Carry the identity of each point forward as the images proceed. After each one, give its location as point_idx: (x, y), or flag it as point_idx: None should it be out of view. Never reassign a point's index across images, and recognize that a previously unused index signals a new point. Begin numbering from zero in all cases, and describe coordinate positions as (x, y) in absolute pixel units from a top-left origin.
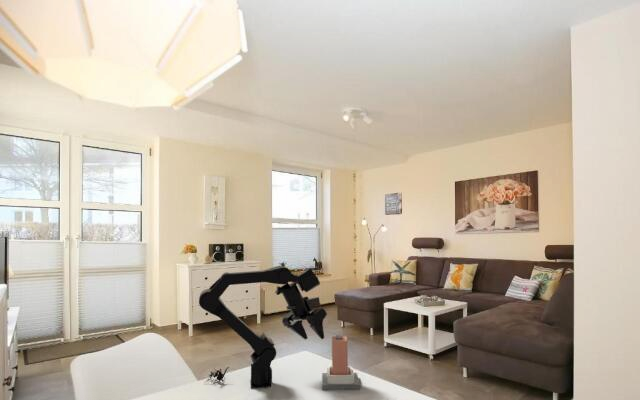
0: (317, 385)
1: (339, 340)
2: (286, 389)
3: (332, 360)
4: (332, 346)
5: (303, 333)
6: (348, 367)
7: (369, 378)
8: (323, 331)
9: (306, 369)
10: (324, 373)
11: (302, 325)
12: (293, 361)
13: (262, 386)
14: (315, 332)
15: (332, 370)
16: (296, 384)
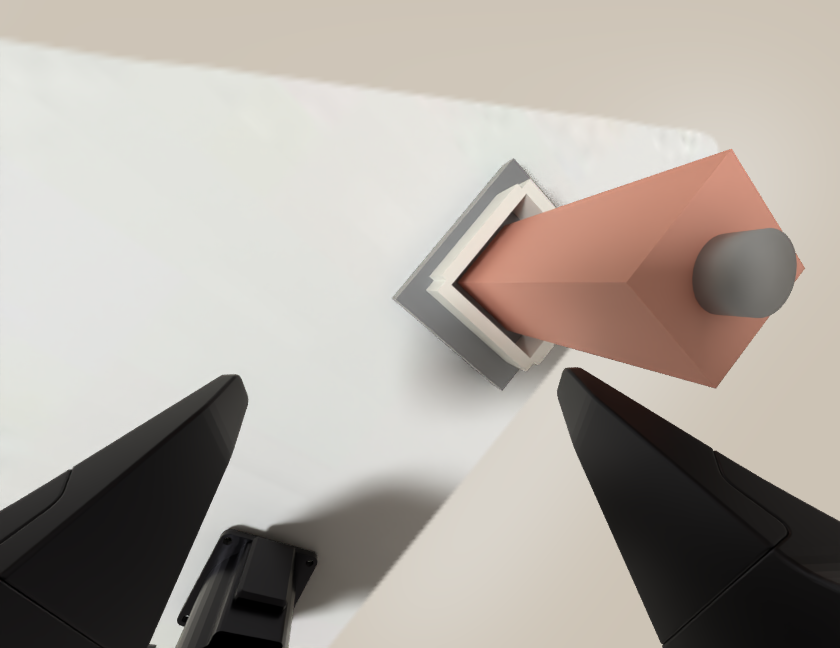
0: (445, 373)
1: (753, 321)
2: (388, 503)
3: (575, 348)
4: (662, 371)
5: (197, 461)
6: (520, 200)
7: (548, 134)
8: (651, 412)
9: (231, 287)
10: (408, 293)
11: (46, 552)
12: (15, 258)
13: (300, 592)
14: (625, 550)
15: (524, 329)
16: (373, 443)
